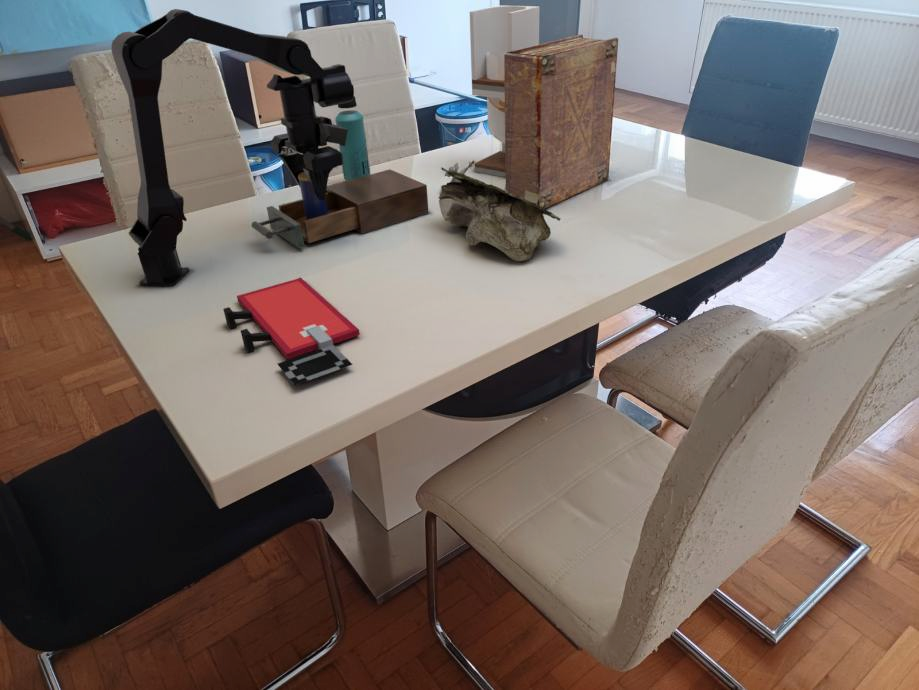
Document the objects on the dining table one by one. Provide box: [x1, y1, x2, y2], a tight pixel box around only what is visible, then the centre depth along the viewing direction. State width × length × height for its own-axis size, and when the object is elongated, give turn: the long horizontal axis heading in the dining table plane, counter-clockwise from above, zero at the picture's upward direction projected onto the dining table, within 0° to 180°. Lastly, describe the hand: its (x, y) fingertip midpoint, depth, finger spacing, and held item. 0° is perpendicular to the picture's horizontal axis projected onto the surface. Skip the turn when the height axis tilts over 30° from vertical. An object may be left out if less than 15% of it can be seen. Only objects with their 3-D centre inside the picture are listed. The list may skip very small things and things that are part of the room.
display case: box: [469, 4, 541, 178], centre depth 155 cm, size 11×11×35 cm
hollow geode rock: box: [438, 166, 562, 262], centre depth 125 cm, size 28×13×15 cm
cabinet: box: [326, 169, 430, 235], centre depth 141 cm, size 16×14×6 cm
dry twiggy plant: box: [444, 160, 476, 182], centre depth 150 cm, size 10×6×9 cm
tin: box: [298, 172, 328, 220], centre depth 132 cm, size 5×5×10 cm
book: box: [504, 34, 619, 210], centre depth 141 cm, size 25×9×30 cm, turn 136°
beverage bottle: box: [334, 95, 372, 181], centre depth 154 cm, size 6×7×20 cm
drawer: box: [251, 192, 360, 249], centre depth 133 cm, size 20×13×5 cm, turn 127°
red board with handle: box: [223, 277, 361, 386], centre depth 102 cm, size 30×3×15 cm
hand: (313, 194), depth 132 cm, fingers open, 7 cm apart
